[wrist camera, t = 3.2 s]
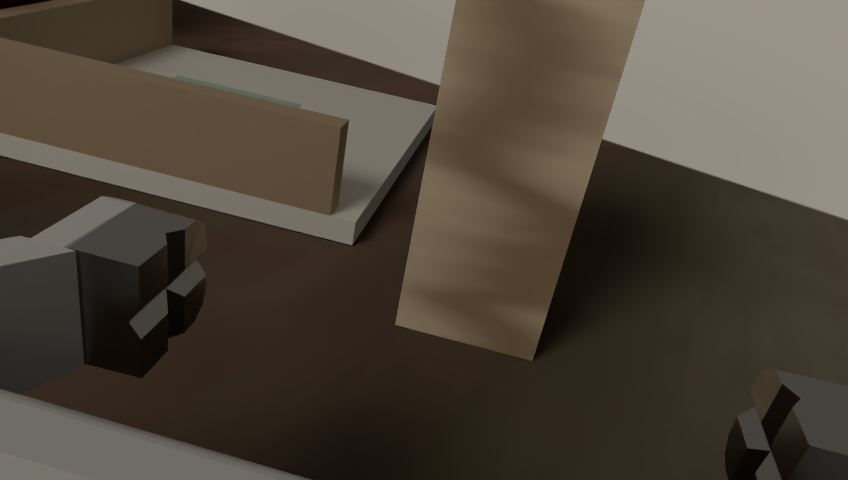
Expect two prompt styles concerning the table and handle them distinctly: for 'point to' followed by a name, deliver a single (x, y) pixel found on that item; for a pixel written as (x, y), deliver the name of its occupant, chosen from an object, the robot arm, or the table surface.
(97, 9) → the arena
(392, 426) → the table surface
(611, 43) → the beech block
